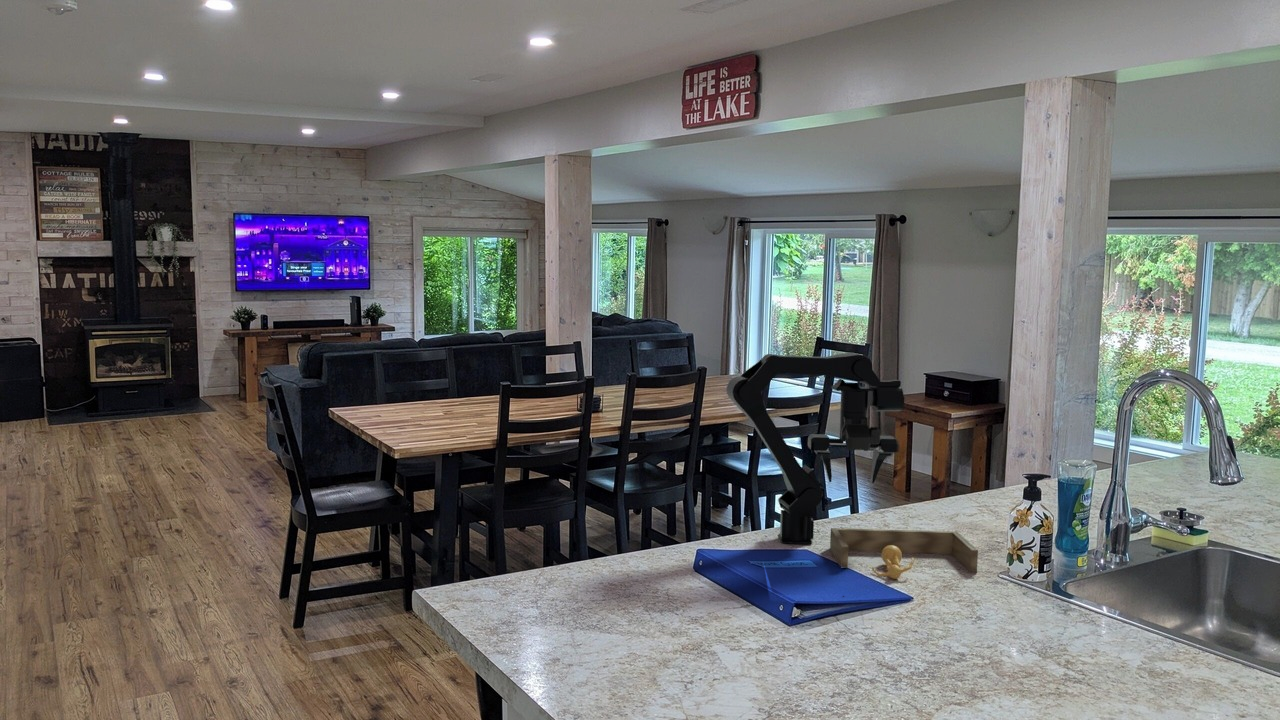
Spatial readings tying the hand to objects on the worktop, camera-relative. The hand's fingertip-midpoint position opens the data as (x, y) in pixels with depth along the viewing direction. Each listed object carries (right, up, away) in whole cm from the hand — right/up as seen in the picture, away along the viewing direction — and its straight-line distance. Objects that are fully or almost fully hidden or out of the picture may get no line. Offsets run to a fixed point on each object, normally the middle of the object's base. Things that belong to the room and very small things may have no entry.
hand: (851, 482), depth 210 cm
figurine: (+5, -14, -15) cm, 21 cm away
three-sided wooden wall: (+7, -14, -14) cm, 21 cm away
